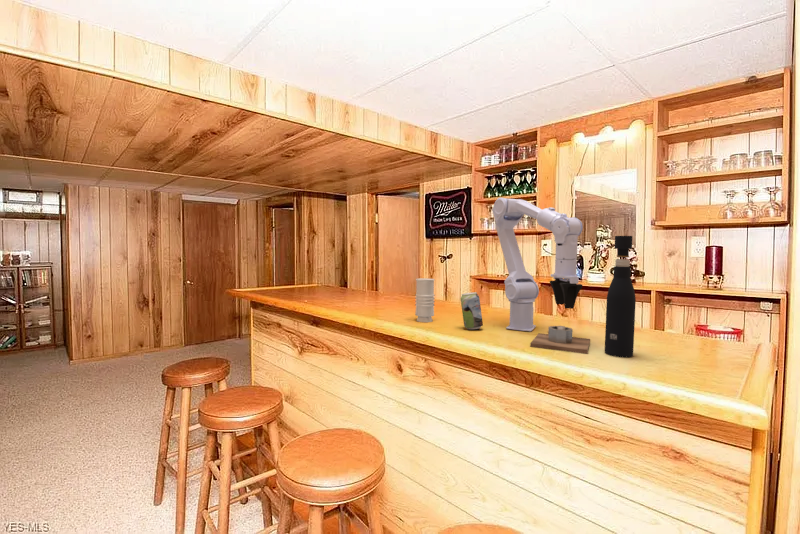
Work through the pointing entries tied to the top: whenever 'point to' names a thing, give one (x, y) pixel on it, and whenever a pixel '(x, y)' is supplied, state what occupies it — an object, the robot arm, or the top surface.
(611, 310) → the black water bottle
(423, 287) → the grey ribbed cylinder
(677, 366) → the top surface
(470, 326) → the beverage can
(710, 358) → the top surface
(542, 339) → the stand
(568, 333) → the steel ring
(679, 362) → the top surface
